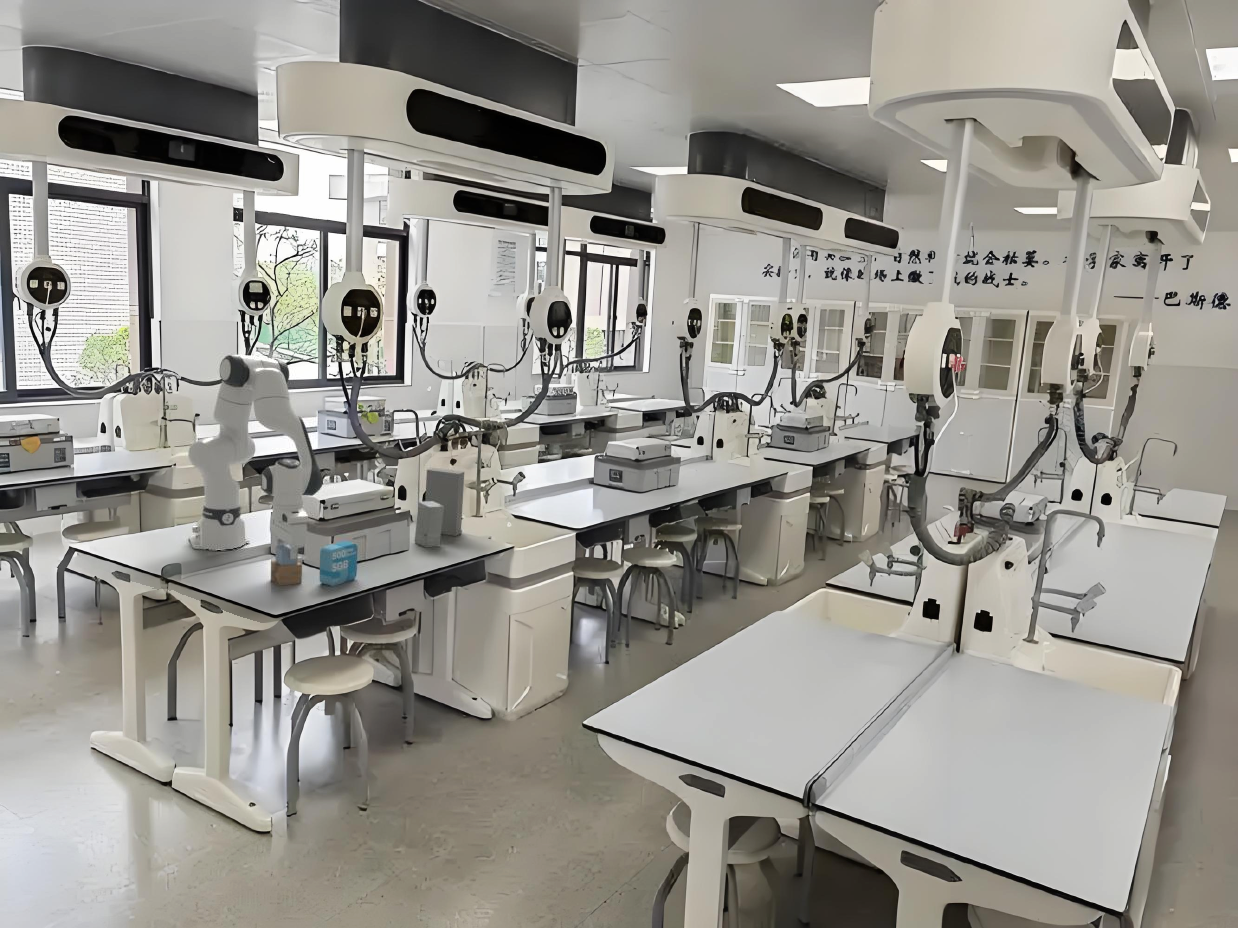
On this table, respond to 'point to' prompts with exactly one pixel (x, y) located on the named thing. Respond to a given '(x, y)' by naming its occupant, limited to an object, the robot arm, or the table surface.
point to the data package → (338, 563)
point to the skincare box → (429, 524)
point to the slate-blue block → (285, 555)
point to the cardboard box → (286, 573)
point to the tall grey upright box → (447, 497)
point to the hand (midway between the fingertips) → (286, 554)
